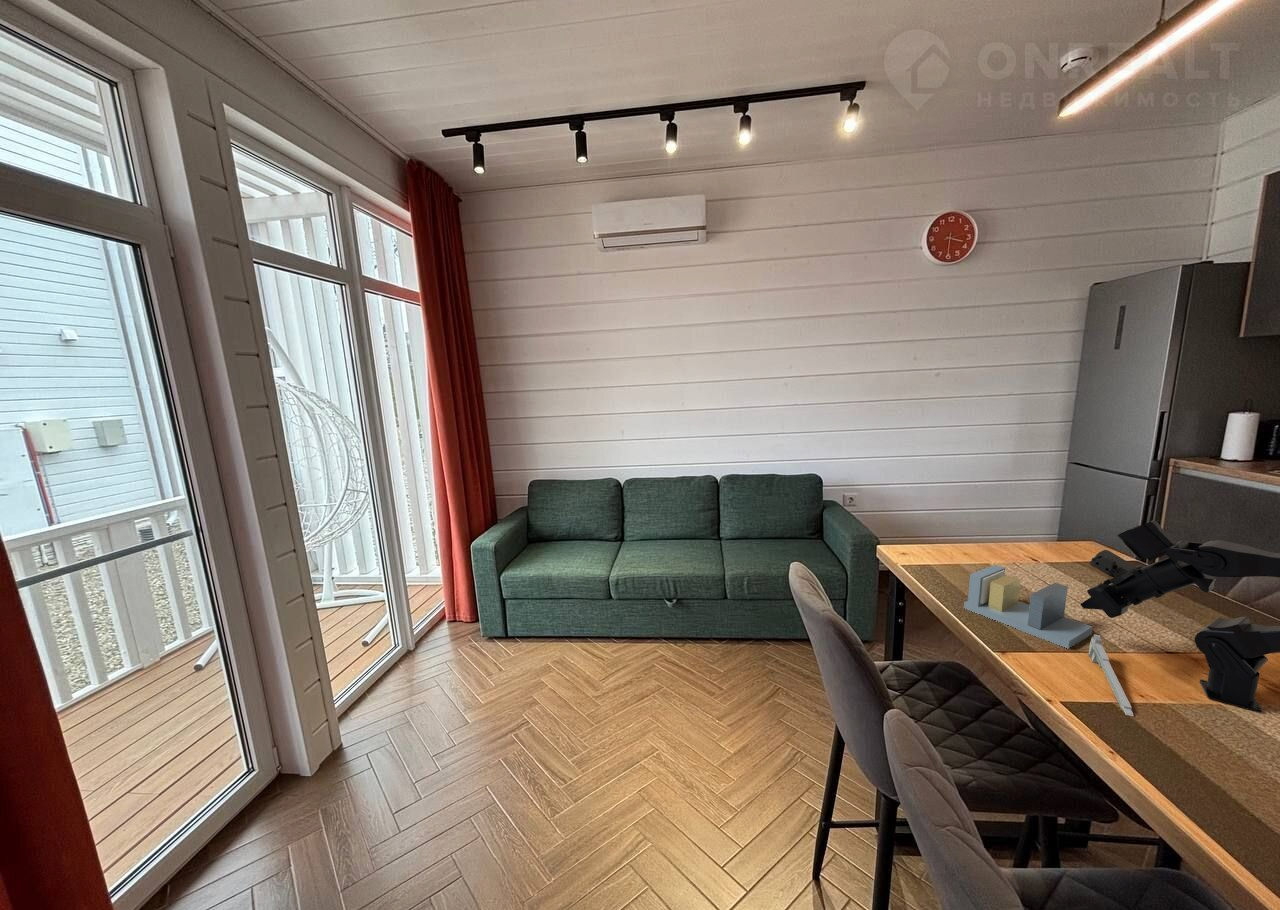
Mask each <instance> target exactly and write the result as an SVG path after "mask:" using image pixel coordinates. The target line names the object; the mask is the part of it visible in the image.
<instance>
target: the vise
mask: <svg viewBox="0 0 1280 910" xmlns="http://www.w3.org/2000/svg"><path fill="white" fill-rule="evenodd" d="M1005 575H1006V567H1004V566H1000V565H997V564H993V565H991V566H988V567H984V569H980V570H978V571H975V572H973V573H970V574H969V581H968V582H969V584H968V596H967V600H966V601H965V600H964V603H963V609H964V608H965V609H964V610H966V609H967V610H966V611H969V610H970V611H969V612H971V611H972V613H974V612H975V613H974V614H976V613H977V614H976V615H979V614H981V615H983V616H982V617H984V616H985V617H984V618H987V617H988V618H987V619H989V618H990V619H989V620H992V619H993V620H992V621H994V620H996V621H995V622H997V621H998V622H997V623H999V622H1001V623H1000V624H1002V623H1004V624H1003V625H1005V624H1006V625H1005V626H1007V625H1009V626H1008V627H1010V626H1012V627H1014V628H1013V629H1015V628H1016V629H1015V630H1017V629H1018V631H1020V630H1021V631H1020V632H1023V633H1025V632H1026V634H1028V635H1030V634H1031V635H1030V636H1033V637H1035V636H1036V638H1038V637H1039V638H1038V639H1041V638H1042V639H1041V640H1043V639H1045V640H1044V641H1046V640H1047V641H1046V642H1048V641H1050V642H1049V643H1051V642H1052V643H1051V644H1053V643H1054V644H1053V645H1056V644H1057V645H1056V646H1059V645H1060V646H1059V647H1061V646H1063V647H1062V648H1064V647H1065V648H1064V649H1066V648H1067V650H1070V649H1071V648H1072V646H1073V647H1074V646H1076V645H1077V644H1079V643H1080V642H1082V641H1083V640H1085V639H1087V638H1088V637H1090V636H1091V635H1092V634H1093V626H1092V625H1089V624H1086V623H1083V622H1080V621H1077V620H1075V619H1072V618H1069V617H1066V616H1063V617H1061V618H1060V619H1058V620H1056V621H1054V622H1053V623H1051V624H1049V625H1047V626H1045V627H1044V628H1042V629H1038V628H1035V627H1033V626H1030V625H1028V616H1029V607H1030V604H1028V603H1026V602H1023V601H1019V600H1018V604H1017V605H1015V606H1013V607H1011V608H1009V609H1007V610H1004V611H1002V612H1000V611H997V610H995V609H992V608H989V607H988V604H989V594H990V584H991V581H994V580H996V579H998V578H1001V577H1003V576H1005ZM981 615H980V616H981ZM1012 627H1011V628H1012ZM1075 644H1076V645H1075ZM1070 647H1071V648H1070Z"/></svg>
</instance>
